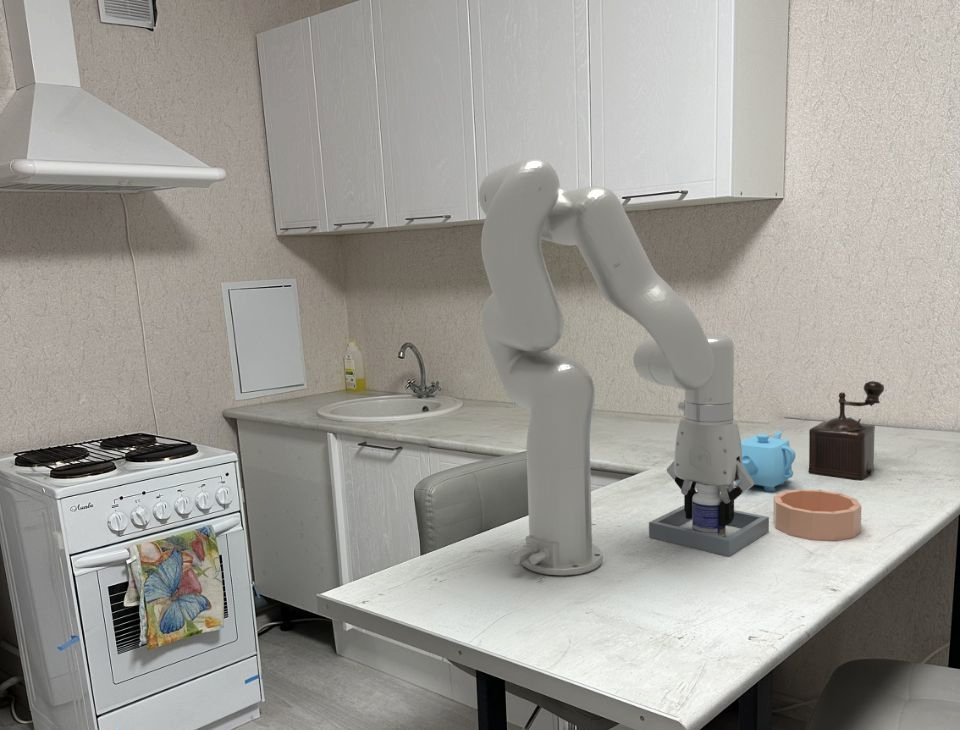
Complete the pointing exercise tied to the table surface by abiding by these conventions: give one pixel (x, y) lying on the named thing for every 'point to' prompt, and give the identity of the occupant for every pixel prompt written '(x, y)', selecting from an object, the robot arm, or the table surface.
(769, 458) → the teapot
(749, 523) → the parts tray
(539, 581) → the table surface
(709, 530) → the pill bottle
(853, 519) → the bowl
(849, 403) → the coffee grinder
